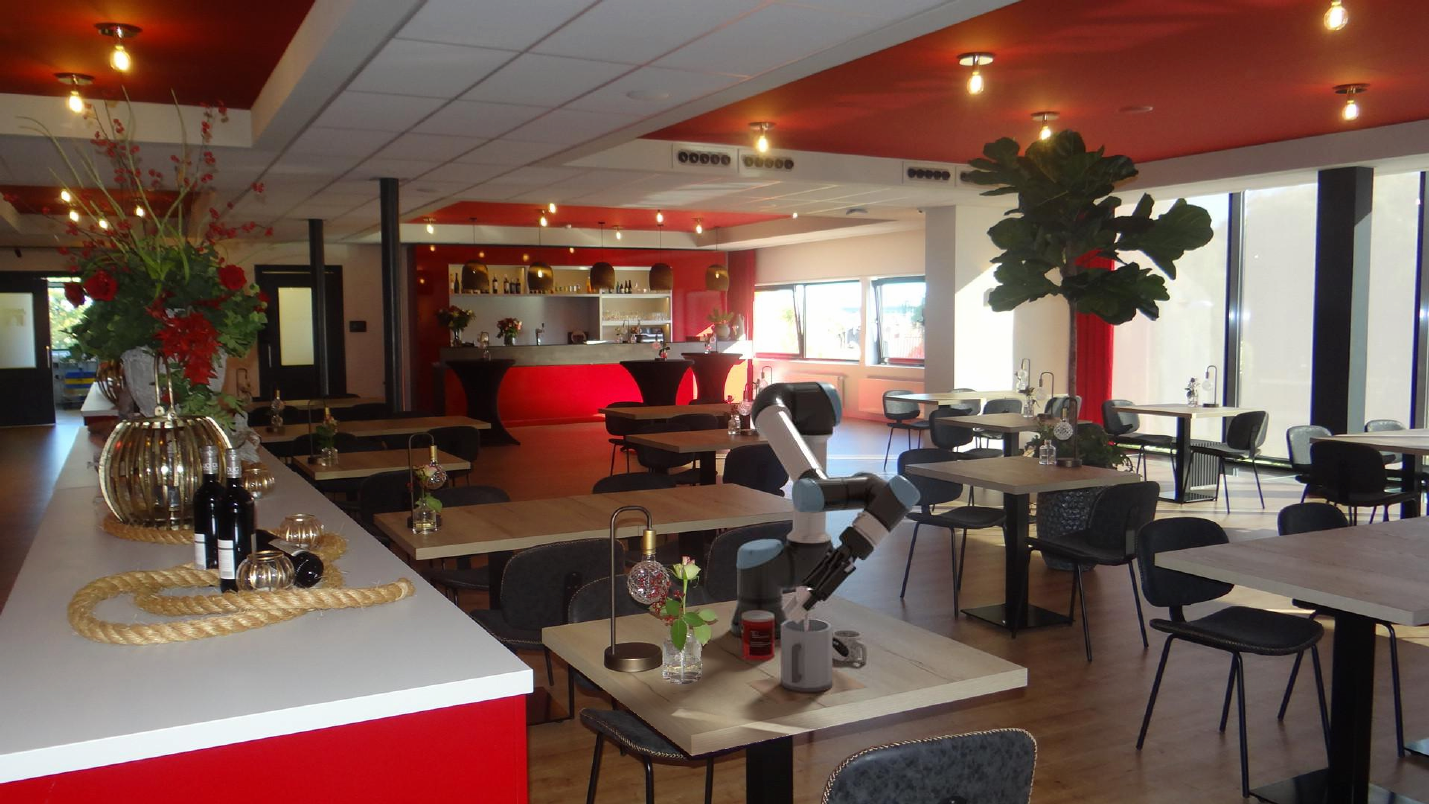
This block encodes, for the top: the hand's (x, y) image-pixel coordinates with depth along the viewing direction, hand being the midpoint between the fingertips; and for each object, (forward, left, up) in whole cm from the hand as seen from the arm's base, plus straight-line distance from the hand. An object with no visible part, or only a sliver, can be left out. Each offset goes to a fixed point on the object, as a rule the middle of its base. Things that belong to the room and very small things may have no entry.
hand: (789, 616), depth 214 cm
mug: (+7, +23, -17) cm, 29 cm away
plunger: (+3, +2, -13) cm, 13 cm away
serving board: (+3, +2, -16) cm, 17 cm away
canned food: (-14, +17, -17) cm, 28 cm away
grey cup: (+3, +1, -15) cm, 16 cm away
